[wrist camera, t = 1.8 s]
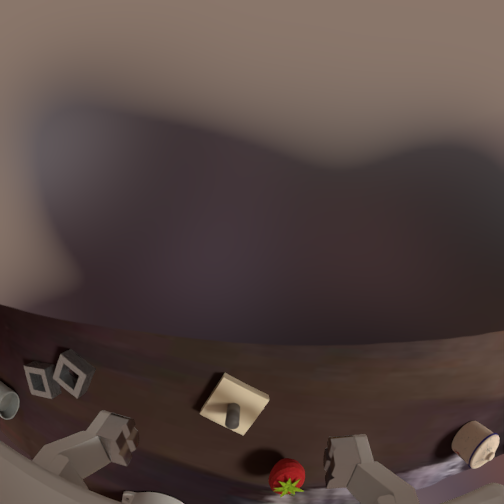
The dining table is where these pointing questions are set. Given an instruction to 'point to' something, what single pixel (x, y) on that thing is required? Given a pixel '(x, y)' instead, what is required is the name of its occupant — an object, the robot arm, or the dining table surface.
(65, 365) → the end link
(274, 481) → the strawberry
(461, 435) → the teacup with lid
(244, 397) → the block
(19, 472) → the robot arm
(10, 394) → the ceramic mug
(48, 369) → the white square box
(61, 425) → the dining table surface
